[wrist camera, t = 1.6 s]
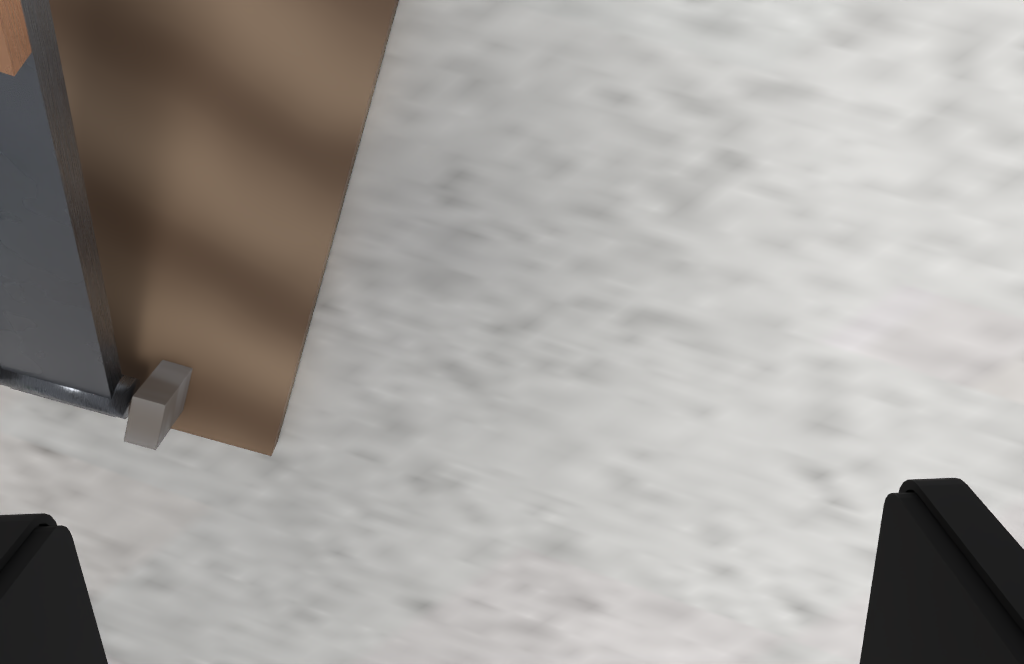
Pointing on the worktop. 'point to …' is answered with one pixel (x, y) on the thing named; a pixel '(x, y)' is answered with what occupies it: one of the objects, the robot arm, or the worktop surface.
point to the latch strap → (49, 232)
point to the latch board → (216, 190)
